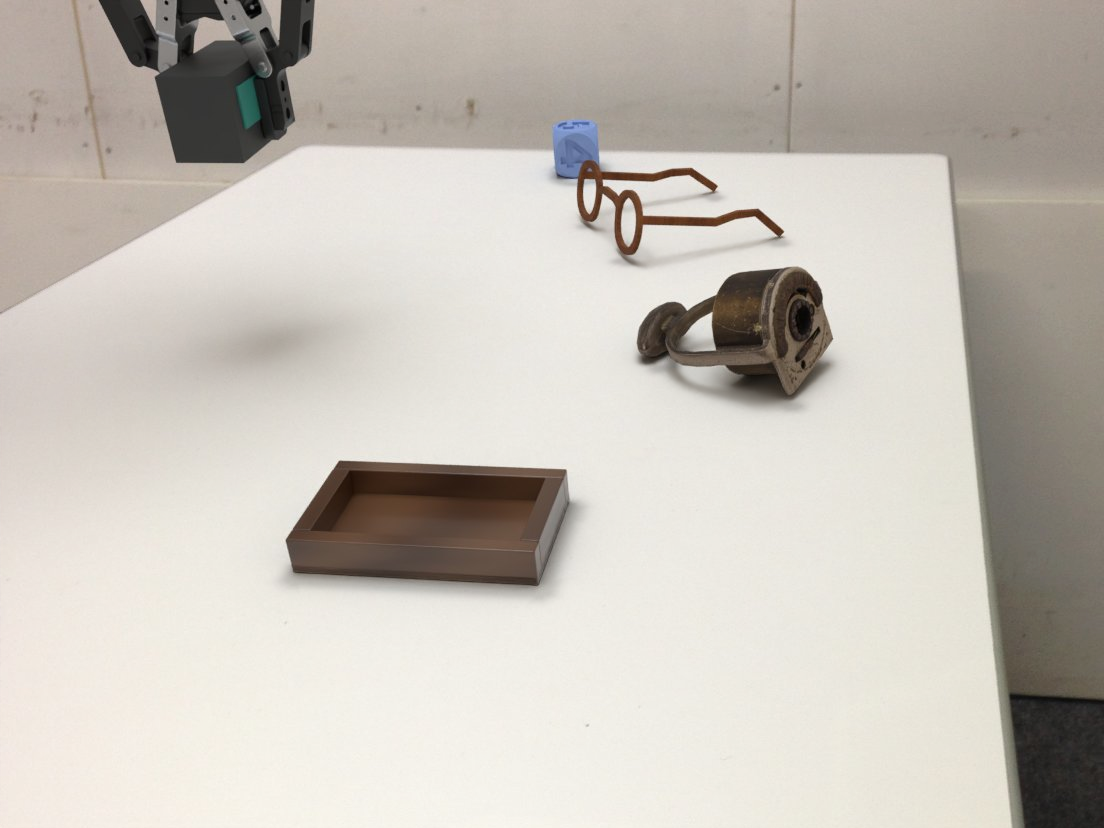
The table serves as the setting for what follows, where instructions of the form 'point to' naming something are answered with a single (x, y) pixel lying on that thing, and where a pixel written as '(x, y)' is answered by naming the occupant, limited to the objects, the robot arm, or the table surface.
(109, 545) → the table surface
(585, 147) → the decorative dice
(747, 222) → the table surface
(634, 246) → the glasses
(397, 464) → the tray
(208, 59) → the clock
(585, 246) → the table surface
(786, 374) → the antique brass mechanism
